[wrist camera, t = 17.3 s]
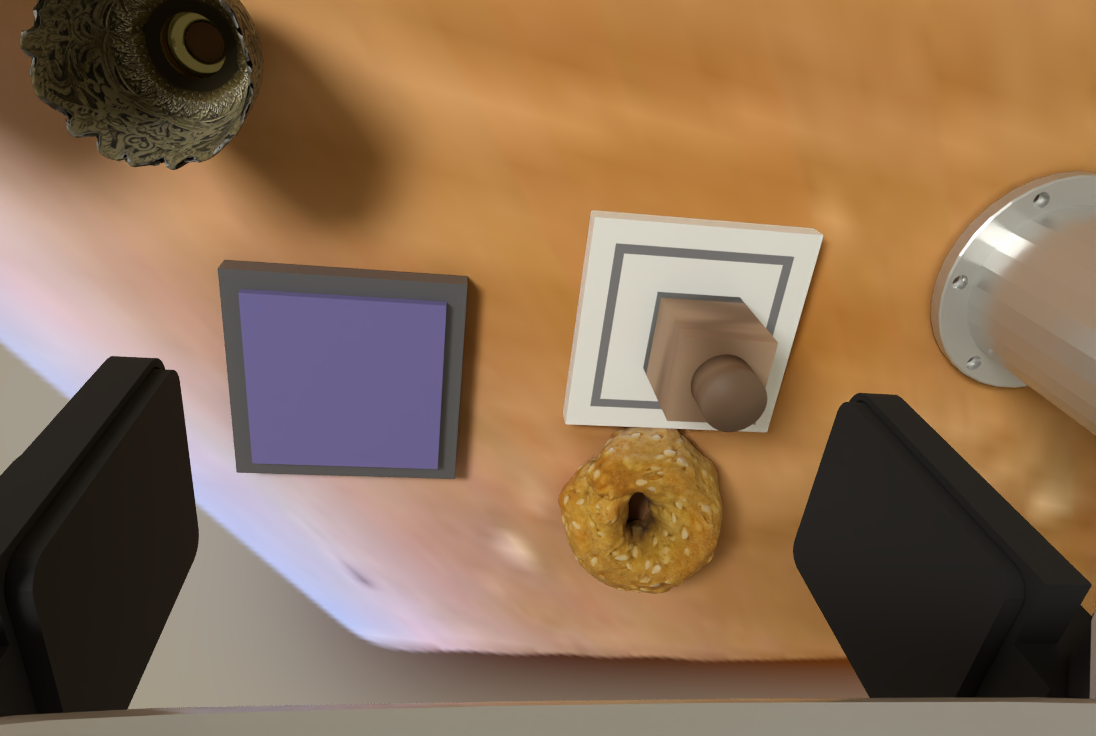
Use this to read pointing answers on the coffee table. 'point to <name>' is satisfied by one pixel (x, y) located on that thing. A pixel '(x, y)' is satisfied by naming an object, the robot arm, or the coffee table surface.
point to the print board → (676, 267)
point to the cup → (145, 75)
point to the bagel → (670, 525)
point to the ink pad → (343, 369)
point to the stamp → (709, 360)
